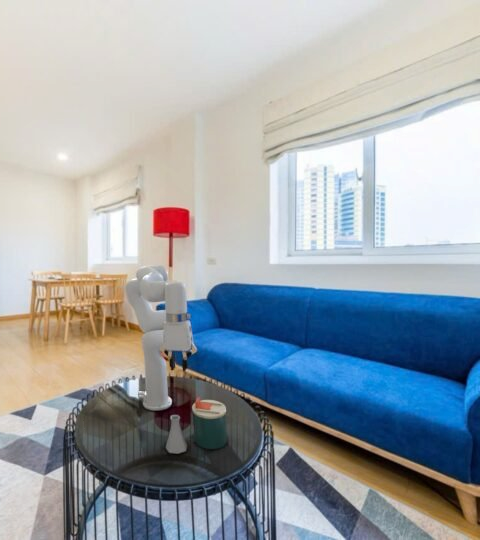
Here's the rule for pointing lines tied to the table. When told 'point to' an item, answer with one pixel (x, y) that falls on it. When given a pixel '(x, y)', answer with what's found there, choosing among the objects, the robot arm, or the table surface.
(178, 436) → the flask
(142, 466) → the table surface
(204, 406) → the slider
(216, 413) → the sliding lid canister
